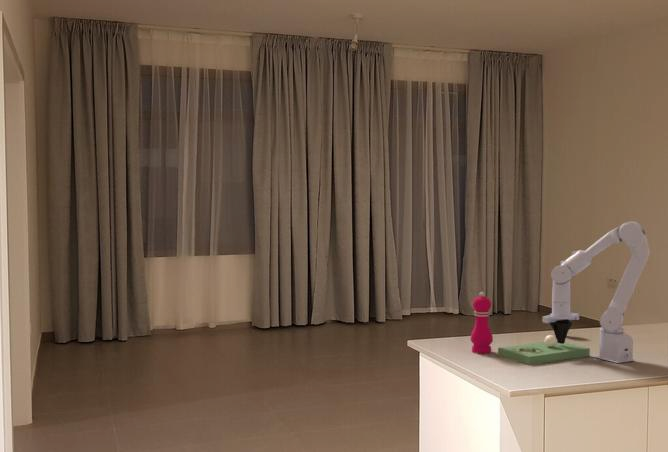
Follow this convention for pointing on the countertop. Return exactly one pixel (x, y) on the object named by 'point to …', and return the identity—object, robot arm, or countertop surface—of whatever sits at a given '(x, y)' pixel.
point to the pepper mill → (481, 325)
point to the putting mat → (543, 352)
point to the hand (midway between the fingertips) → (560, 343)
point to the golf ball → (550, 341)
